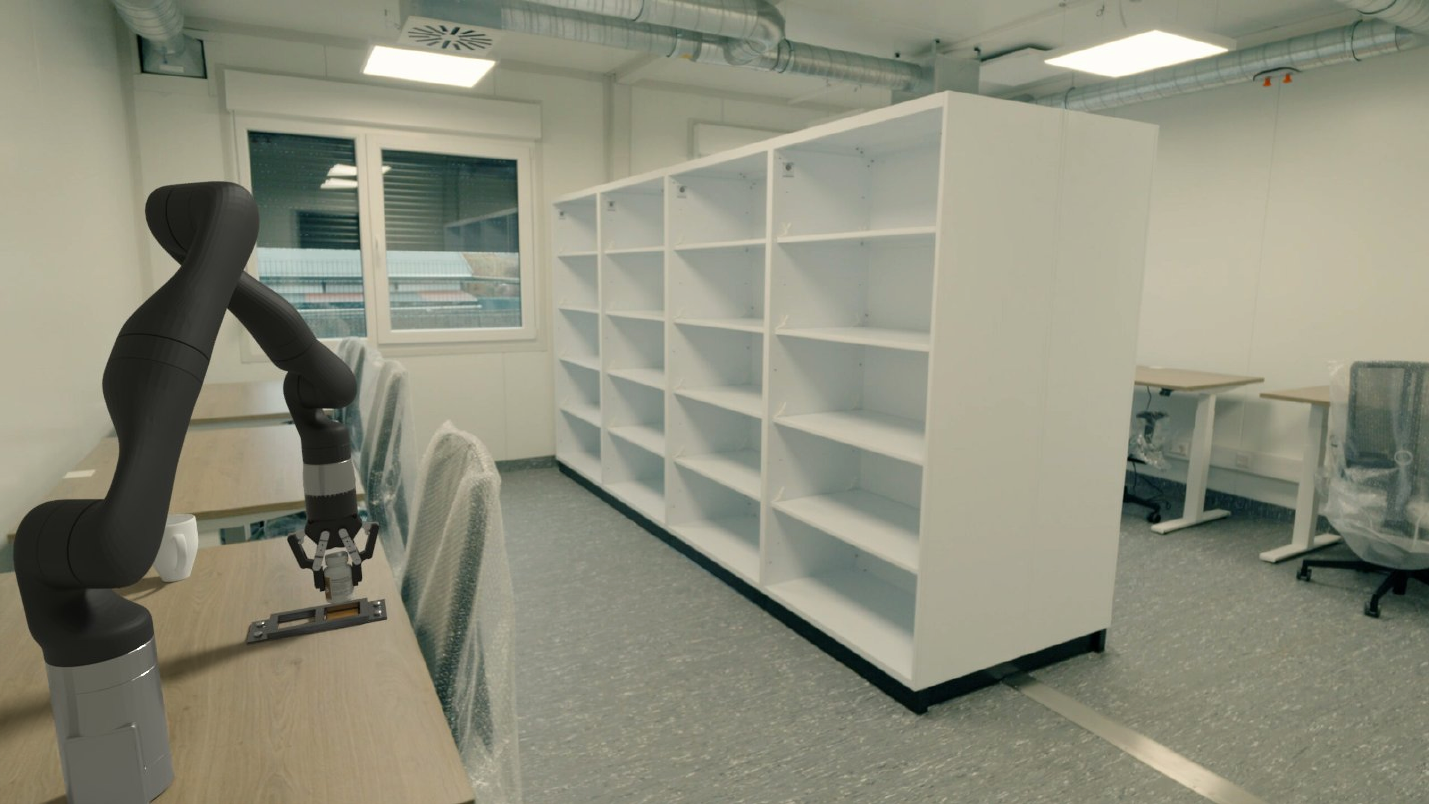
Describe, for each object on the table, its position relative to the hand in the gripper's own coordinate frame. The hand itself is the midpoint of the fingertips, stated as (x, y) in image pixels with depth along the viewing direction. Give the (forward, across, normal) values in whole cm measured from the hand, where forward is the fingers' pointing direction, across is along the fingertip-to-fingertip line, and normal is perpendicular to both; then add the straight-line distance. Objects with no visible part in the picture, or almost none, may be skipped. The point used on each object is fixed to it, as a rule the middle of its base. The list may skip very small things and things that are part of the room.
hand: (339, 586), depth 127 cm
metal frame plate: (+5, -3, 0) cm, 6 cm away
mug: (+6, -28, +32) cm, 43 cm away
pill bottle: (+2, 0, 0) cm, 2 cm away
